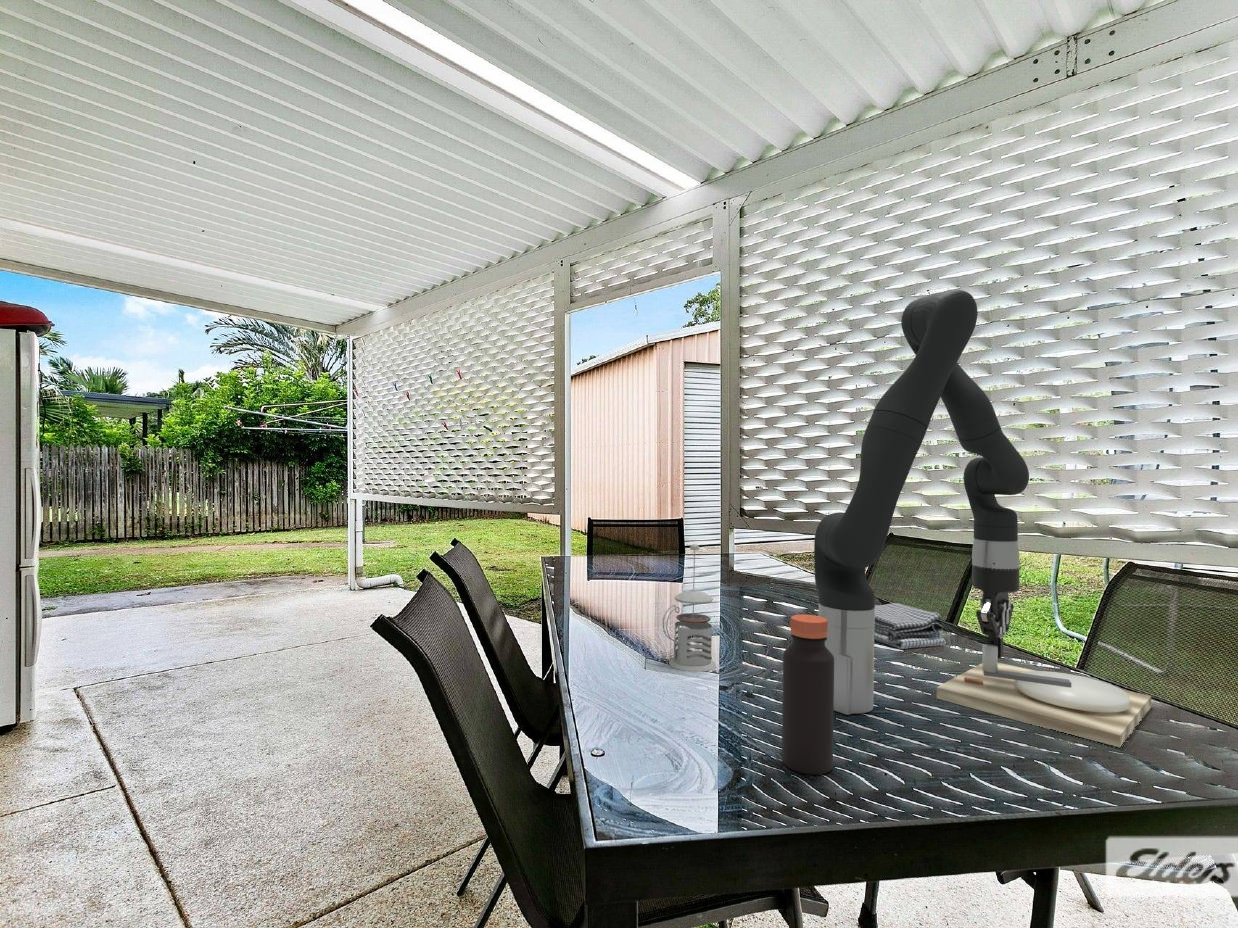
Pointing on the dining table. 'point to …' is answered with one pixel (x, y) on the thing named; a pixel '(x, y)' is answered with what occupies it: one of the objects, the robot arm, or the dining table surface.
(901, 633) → the towel
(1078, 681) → the dial
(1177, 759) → the dining table surface
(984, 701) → the cutting board
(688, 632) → the french press
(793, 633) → the bottle
